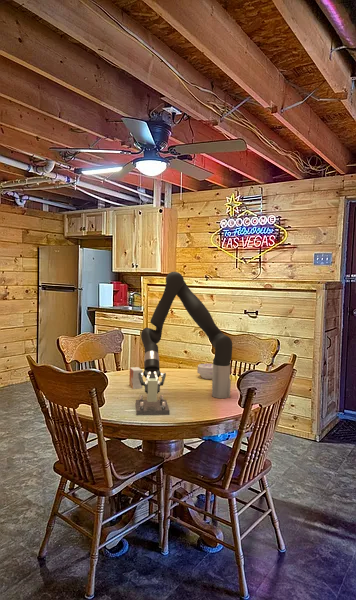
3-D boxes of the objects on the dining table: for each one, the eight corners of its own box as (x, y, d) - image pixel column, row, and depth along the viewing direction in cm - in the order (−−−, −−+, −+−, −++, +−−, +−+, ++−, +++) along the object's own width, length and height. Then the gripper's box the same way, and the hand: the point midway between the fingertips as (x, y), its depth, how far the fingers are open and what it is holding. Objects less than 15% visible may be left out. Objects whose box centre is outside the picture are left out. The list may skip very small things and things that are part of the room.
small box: (129, 385, 242) (129, 367, 241) (138, 384, 244) (138, 366, 243) (132, 389, 234) (133, 370, 234) (142, 388, 236) (142, 369, 236)
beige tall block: (156, 398, 202) (156, 378, 201) (157, 401, 197) (157, 380, 196) (146, 398, 201) (147, 378, 201) (147, 401, 196) (148, 380, 196)
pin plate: (166, 403, 209) (166, 393, 208) (169, 414, 192) (169, 404, 192) (135, 403, 207) (136, 393, 207) (136, 415, 190) (136, 404, 190)
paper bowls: (209, 373, 277) (210, 362, 277) (226, 378, 266) (226, 366, 265) (192, 376, 268) (192, 364, 267) (208, 381, 256) (208, 368, 256)
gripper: (137, 357, 205) (137, 388, 194) (166, 358, 207) (168, 388, 196) (137, 366, 211) (136, 396, 199) (165, 366, 212) (166, 396, 201)
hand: (152, 392), depth 198 cm, fingers closed on beige tall block, 4 cm apart
